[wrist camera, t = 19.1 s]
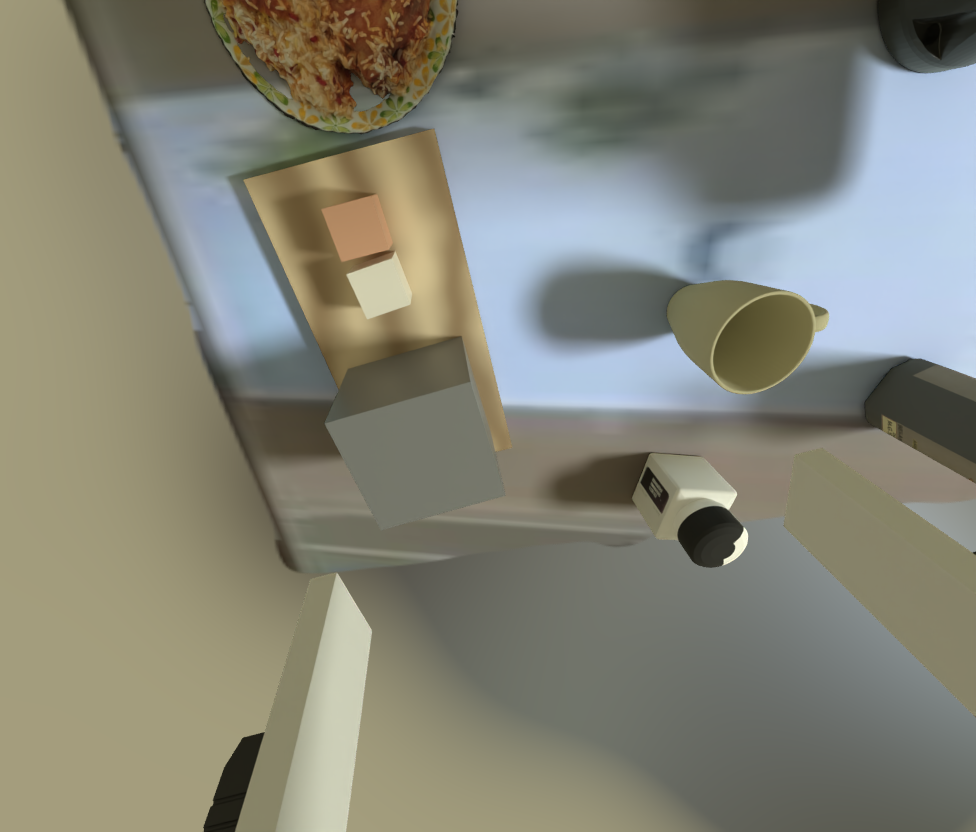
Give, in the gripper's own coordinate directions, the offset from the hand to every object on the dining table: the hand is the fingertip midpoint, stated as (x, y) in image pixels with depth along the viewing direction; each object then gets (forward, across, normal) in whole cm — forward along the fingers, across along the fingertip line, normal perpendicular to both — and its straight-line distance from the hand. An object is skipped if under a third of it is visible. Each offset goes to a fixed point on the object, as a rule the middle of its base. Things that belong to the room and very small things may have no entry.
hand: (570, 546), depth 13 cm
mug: (+35, +23, -8) cm, 43 cm away
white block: (+33, -8, +3) cm, 34 cm away
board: (+35, -8, -3) cm, 36 cm away
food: (+35, -5, +23) cm, 42 cm away
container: (+35, +19, -31) cm, 50 cm away
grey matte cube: (+33, -8, -10) cm, 36 cm away
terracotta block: (+33, -8, +8) cm, 35 cm away
